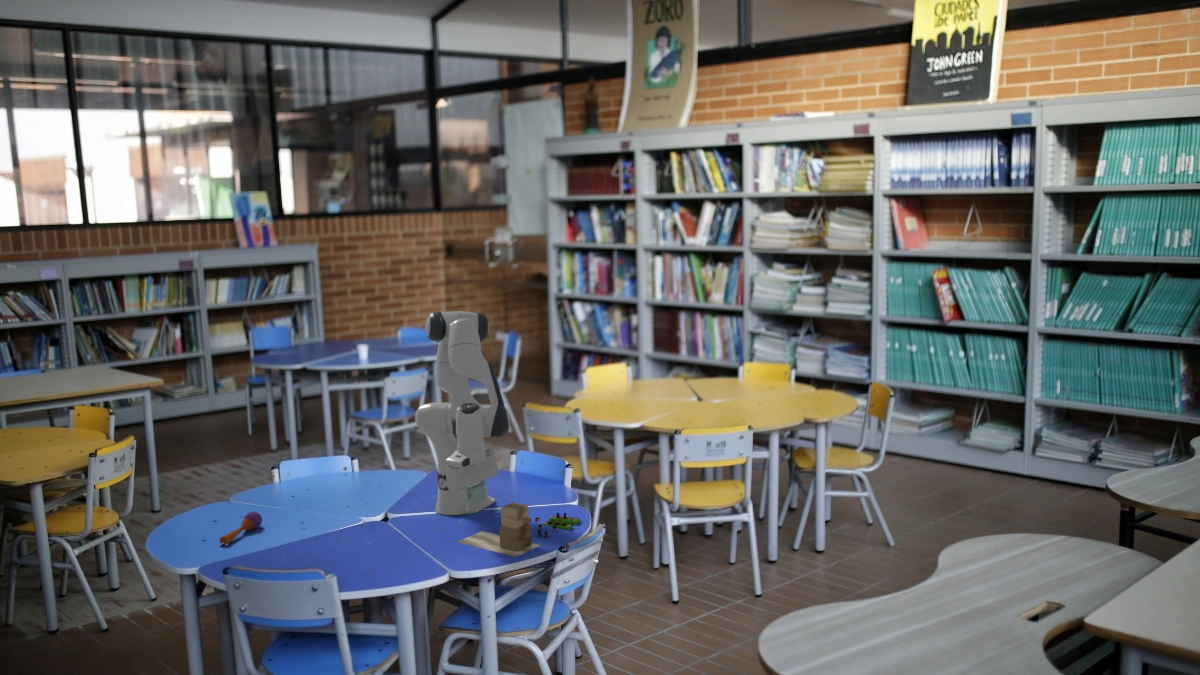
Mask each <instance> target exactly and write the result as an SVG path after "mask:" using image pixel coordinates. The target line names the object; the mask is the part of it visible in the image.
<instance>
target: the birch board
mask: <svg viewBox="0 0 1200 675" xmlns="http://www.w3.org/2000/svg"><path fill="white" fill-rule="evenodd" d="M457 543H459V544H463V545H466V546H472V547H475V548H479V549H482V550H486V551H490V552H494V553H498V554H502V555H506V556H510V557H514V558H517V557H518V556H522V555H523V554H525V553H527V552H529V551H532V550H534V549H535V548H538V547H541V544H538V543H534V542H532V545H531V546H528V547H526V548H524V549H522V550H520V551H518V552H516V551H512V550H508V549H504V548H500V534H497V533H492V532H489V531H485V530H484V531H483V530H481V531H479V532H477V533H474V534H473V535H469V536H468V537H465V538H463V539H461V540H458V541H457Z"/></svg>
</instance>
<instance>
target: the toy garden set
mask: <svg viewBox="0 0 1200 675" xmlns="http://www.w3.org/2000/svg"><path fill="white" fill-rule="evenodd" d="M539 518H540V517H538V516H537V517H535V518H534V523H535V522H537V521H538V520H537V519H539ZM532 520H533V519H532V517H531V516H528V523H530V524H531V523H532ZM539 520H540V519H539ZM580 521H581V518H580V517H578V518H577V517H569V516H567V513H566V512H564V513H563V516H562V515H561V516H560V513H559V512H556V515H555V514H554V515H552V516H551V517H549V519H548V520H546V521H544V522H543V523H540V524H538V528H539V529H537V530H536V532H537V537H538V538H541V537H544V538H547V539H549V531H548V530H545V531H544V532H543V534H544V535H543V534H542V531H541V530H544V527H543V526H546V527H550V528H553V529H552V531H553V532H557V530H558V529H559V530H562V531H563V530H564V531H567V532H569V531H571V530H572V529H573V528H572V527H574V526H577V525H578V524H580V523H581V522H580ZM538 522H539V521H538ZM538 522H537V523H538ZM579 522H580V523H579ZM572 524H573V525H572ZM576 524H577V525H576ZM571 528H572V529H571ZM570 529H571V530H570ZM568 530H569V531H568Z"/></svg>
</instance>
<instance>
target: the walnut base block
mask: <svg viewBox="0 0 1200 675" xmlns="http://www.w3.org/2000/svg"><path fill="white" fill-rule="evenodd" d="M528 523H529V524H527V525H525V526H522V527H520V528H518V529H512V528H508V527H504V526H501V525H499V526H498V529H499V530H498V532H499V535H500V548H504V549H508V550H512V551H516V552H518V551H520V550H522V549H524V548H526V547H528V546H531V545H532V543H533V542H532V526H531V525H532V524H531V522H528Z"/></svg>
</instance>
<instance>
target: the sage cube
mask: <svg viewBox="0 0 1200 675" xmlns="http://www.w3.org/2000/svg"><path fill="white" fill-rule="evenodd" d="M485 486H486V485H483V484H478V483H476V484H473V485H471V486H469V487H468V490H467V492H468V494H470V497H471V498H470V499H469V500H464V499H463V502H467V503H471V504H477V503H479V502H482V501H484V500H485Z"/></svg>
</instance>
